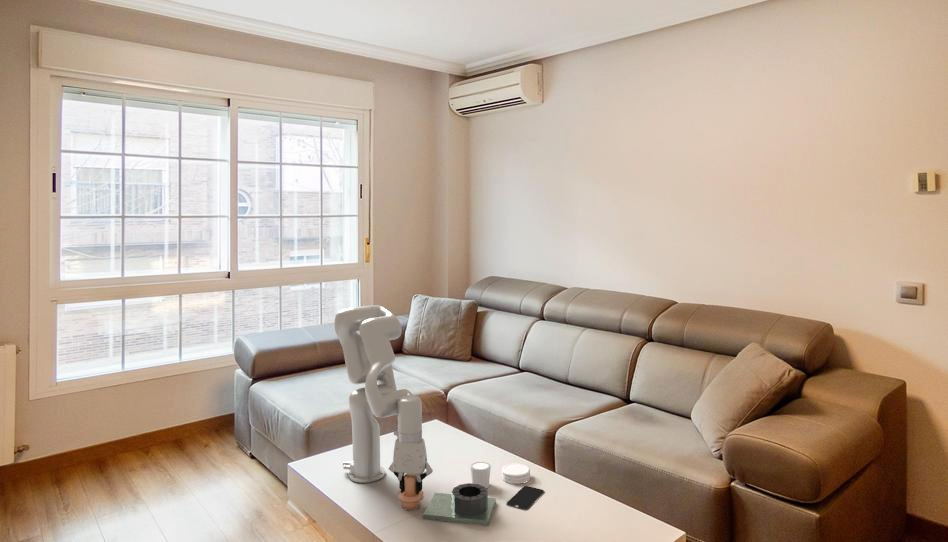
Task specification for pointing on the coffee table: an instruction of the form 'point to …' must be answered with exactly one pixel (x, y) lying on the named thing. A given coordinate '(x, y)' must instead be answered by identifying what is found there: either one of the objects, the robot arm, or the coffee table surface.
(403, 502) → the cap
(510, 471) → the white short cylinder
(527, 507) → the smartphone
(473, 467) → the white grey cylinder
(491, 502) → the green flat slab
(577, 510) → the coffee table surface
